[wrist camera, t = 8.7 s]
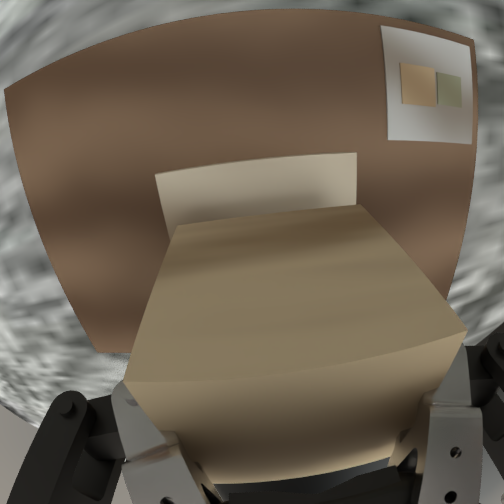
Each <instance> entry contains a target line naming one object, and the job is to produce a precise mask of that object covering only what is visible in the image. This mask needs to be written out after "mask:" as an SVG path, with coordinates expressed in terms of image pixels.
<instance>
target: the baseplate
mask: <svg viewBox="0 0 504 504" xmlns="http://www.w3.org/2000/svg"><path fill="white" fill-rule="evenodd" d="M4 94H5V102H6V109H7V116H8V122H9V127H10V133H11V138H12V142H13V147H14V152H15V156H16V160H17V164H18V168H19V172H20V176H21V179H22V183H23V186H24V190H25V193H26V196H27V200H28V203H29V206H30V209H31V212H32V215H33V218H34V220H35V223H36V226H37V229H38V232H39V234H40V237H41V239H42V242H43V245H44V247H45V249H46V252H47V254H48V257H49V259H50V261H51V264H52V266H53V268H54V271H55V273H56V275H57V277H58V279H59V282H60V284H61V286H62V288H63V290H64V292H65V294H66V296H67V298H68V300H69V302H70V304H71V306H72V308H73V310H74V312H75V314H76V316H77V317H78V319H79V321H80V323H81V325H82V327H83V328H84V330H85V332H86V334H87V335H88V337H89V339H90V341H91V342H92V344H93V346H94V347H95V349H96V351H97V352H100V353H131V352H132V349H133V346H134V342H135V339H136V336H137V333H138V330H139V327H140V324H141V321H142V318H143V315H144V312H145V309H146V306H147V303H148V301H149V298H150V295H151V292H152V289H153V287H154V284H155V281H156V278H157V276H158V273H159V270H160V268H161V265H162V262H163V260H164V257H165V255H166V252H167V250H168V247H169V244H170V242H171V239H172V237H173V234H174V232H175V230H176V227H177V226H178V225H185V224H192V223H199V222H206V221H214V220H222V219H229V218H237V217H245V216H253V215H262V214H270V213H279V212H288V211H297V210H306V209H316V208H326V207H336V206H347V205H358V204H361V205H362V206H363V207H364V208H365V209H366V210H367V211H368V212H369V213H370V215H371V216H372V217H373V218H374V219H375V220H376V221H377V222H378V223H379V224H380V225H381V226H382V227H383V228H384V229H385V230H386V231H387V232H388V233H389V235H390V236H391V237H392V238H393V239H394V240H395V241H396V242H397V243H398V244H399V245H400V247H401V248H402V249H403V250H404V251H405V252H406V253H407V254H408V256H409V257H410V258H411V259H412V260H413V261H414V263H415V264H416V265H417V266H418V267H419V268H420V270H421V271H422V272H423V273H424V274H425V275H426V277H427V278H428V279H429V280H430V282H431V283H432V284H433V285H434V286H435V288H436V289H437V290H438V291H439V293H440V294H441V295H442V296H443V298H444V299H445V300H446V299H447V296H448V293H449V290H450V287H451V283H452V280H453V276H454V273H455V269H456V266H457V262H458V258H459V254H460V250H461V246H462V241H463V237H464V232H465V228H466V223H467V217H468V212H469V206H470V200H471V194H472V187H473V179H474V170H475V161H476V149H477V132H478V83H477V66H476V55H475V45H474V40H473V39H470V38H467V37H464V36H462V35H459V34H455V33H452V32H449V31H446V30H442V29H439V28H435V27H432V26H428V25H424V24H420V23H415V22H411V21H406V20H402V19H396V18H391V17H385V16H379V15H373V14H365V13H357V12H348V11H337V10H321V9H267V10H251V11H239V12H230V13H221V14H214V15H207V16H201V17H195V18H190V19H184V20H179V21H175V22H170V23H166V24H161V25H157V26H153V27H149V28H146V29H142V30H139V31H135V32H132V33H128V34H125V35H122V36H119V37H116V38H113V39H110V40H107V41H104V42H101V43H99V44H96V45H93V46H91V47H88V48H86V49H83V50H81V51H78V52H76V53H74V54H71V55H69V56H67V57H64V58H62V59H60V60H58V61H56V62H54V63H52V64H49V65H47V66H45V67H43V68H41V69H39V70H38V71H36V72H34V73H32V74H30V75H28V76H26V77H25V78H23V79H21V80H19V81H17V82H16V83H14V84H12V85H11V86H9V87H7V88H6V89H4Z"/></svg>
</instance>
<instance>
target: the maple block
mask: <svg viewBox="0 0 504 504" xmlns="http://www.w3.org/2000/svg"><path fill="white" fill-rule="evenodd" d="M467 331H468V330H467V328H466V327H465V325H464V324H463V323H462V321H461V320H460V319H459V317H458V316H457V315H456V313H455V312H454V311H453V309H452V308H451V307H450V305H449V304H448V303H447V302H446V300H445V299H444V298H443V296H442V295H441V294H440V293H439V291H438V290H437V289H436V288H435V286H434V285H433V284H432V283H431V282H430V280H429V279H428V278H427V277H426V275H425V274H424V273H423V272H422V271H421V270H420V268H419V267H418V266H417V265H416V264H415V263H414V261H413V260H412V259H411V258H410V257H409V256H408V254H407V253H406V252H405V251H404V250H403V249H402V248H401V247H400V245H399V244H398V243H397V242H396V241H395V240H394V239H393V238H392V237H391V236H390V235H389V233H388V232H387V231H386V230H385V229H384V228H383V227H382V226H381V225H380V224H379V223H378V222H377V221H376V220H375V219H374V218H373V217H372V216H371V215H370V213H369V212H368V211H367V210H366V209H365V208H364V207H363V206H362V205H361V204H358V205H347V206H336V207H326V208H316V209H306V210H297V211H288V212H279V213H270V214H262V215H253V216H245V217H237V218H229V219H222V220H214V221H206V222H199V223H192V224H185V225H178V226H177V227H176V230H175V232H174V234H173V237H172V239H171V242H170V244H169V247H168V250H167V252H166V255H165V257H164V260H163V262H162V265H161V268H160V270H159V273H158V276H157V278H156V281H155V284H154V287H153V289H152V292H151V295H150V298H149V301H148V303H147V306H146V309H145V312H144V315H143V318H142V321H141V324H140V327H139V330H138V333H137V336H136V339H135V342H134V346H133V349H132V352H131V355H130V359H129V362H128V365H127V369H126V372H125V375H124V379H123V383H124V384H125V386H126V387H127V389H128V390H129V391H130V393H131V394H132V396H133V397H134V399H135V400H136V401H137V403H138V404H139V405H140V407H141V408H142V410H143V411H144V412H145V414H146V415H147V416H148V417H149V419H150V420H151V421H152V423H153V424H154V425H155V426H156V428H157V429H158V430H164V431H175V432H176V434H177V435H178V437H179V438H180V439H181V441H182V443H183V446H184V448H185V450H186V451H187V453H188V455H189V457H190V458H191V460H192V461H193V462H199V463H200V465H201V466H202V467H203V469H204V471H205V473H206V474H207V476H208V478H209V479H210V481H211V482H212V484H225V483H249V482H263V481H274V480H283V479H291V478H298V477H304V476H311V475H316V474H322V473H327V472H332V471H337V470H342V469H346V468H350V467H354V466H358V465H362V464H366V463H370V462H373V461H377V460H380V459H384V458H387V457H390V456H391V455H392V453H393V450H394V447H395V442H396V437H397V436H398V434H399V433H400V431H403V430H406V429H409V428H412V426H413V424H414V422H415V419H416V415H417V410H418V402H419V401H420V399H421V397H422V395H423V393H424V392H427V391H430V390H433V389H435V388H438V387H439V386H440V384H441V382H442V381H443V379H444V377H445V375H446V373H447V372H448V370H449V368H450V366H451V364H452V362H453V360H454V358H455V356H456V354H457V352H458V350H459V348H460V346H461V344H462V342H463V340H464V338H465V335H466V333H467Z"/></svg>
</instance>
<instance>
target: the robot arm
mask: <svg viewBox="0 0 504 504" xmlns="http://www.w3.org/2000/svg"><path fill="white" fill-rule="evenodd" d="M500 388H501V389H502V390H503V392H504V333H495V334H493V335H491V336H490V337H489V339H488V341H487V343H486V344H485V346H464V344H463V343H462V344H461V346H460V348H459V350H458V352H457V354H456V356H455V358H454V360H453V362H452V364H451V366H450V368H449V370H448V372H447V373H446V375H445V377H444V379H443V381H442V382H441V384H440V386H439V387H438V388H435V389H433V390H430V391H427V392H424V393H423V395H422V397H421V399H420V401H419V402H418V410H417V415H416V419H415V422H414V424H413V426H412V428H409V429H406V430H403V431H400V433H399V434H398V436H397V437H396V442H395V447H394V450H393V453H392V455H391V457H390V460H389V463H388V467H387V468H383V469H380V470H377V471H373V472H370V473H366V474H363V475H359V476H356V477H354V478H352V479H350V480H348V481H346V482H344V483H342V484H340V485H338V486H335V487H333V488H331V489H329V490H326V491H324V492H322V493H319V494H300V493H288V492H278V491H263V492H249V493H248V492H247V493H229V500H228V501H225V502H223V500H222V498H221V497H220V495H219V493H218V492H217V490H216V488H215V487H214V485H213V484H212V482H211V481H210V479H209V478H208V476H207V474H206V473H205V471H204V469H203V467H202V466H201V465H200V463H199V462H193V461H192V460H191V458H190V457H189V455H188V453H187V451H186V450H185V448H184V446H183V443H182V441H181V439H180V438H179V437H178V435H177V434H176V432H175V431H164V430H158V429H157V428H156V426H155V425H154V424H153V423H152V421H151V420H150V419H149V417H148V416H147V415H146V414H145V412H144V411H143V410H142V408H141V407H140V405H139V404H138V403H137V401H136V400H135V399H134V397H133V396H132V394H131V393H130V391H129V390H128V389H127V387H126V386H125V384H124V383H123V380H122V381H120V382H119V383H118V384H117V385H116V386H115V388H114V390H113V392H112V394H111V395H108V396H104V397H99V398H95V399H91V400H87V399H86V398H85V397H84V396H83V395H82V394H81V393H80V392H78V391H66V392H63V393H61V394H60V395H58V396H57V397H56V398H55V399H54V401H53V402H52V404H51V406H50V408H49V410H48V411H47V413H46V415H45V417H44V419H43V421H42V423H41V425H40V427H39V429H38V431H37V433H36V435H35V438H34V440H33V442H32V444H31V446H30V448H29V451H28V453H27V455H26V457H25V459H24V462H23V464H22V466H21V469H20V471H19V473H18V476H17V478H16V480H15V483H14V485H13V488H12V490H11V493H10V496H9V498H8V501H7V504H111V502H112V498H113V495H114V492H115V489H116V486H117V483H118V480H119V477H120V474H121V470H122V473H123V476H124V480H125V483H126V486H127V488H128V491H129V494H130V497H131V500H132V503H133V504H480V503H479V496H480V486H481V475H482V455H483V446H484V447H485V449H486V451H487V452H488V454H489V456H490V457H491V459H492V461H493V462H494V464H495V466H496V467H497V469H498V471H499V472H500V474H501V476H502V478H503V479H504V403H503V401H502V400H501V399H500V397H499V396H498V395H497V392H498V390H499V389H500ZM125 458H126V461H125ZM124 461H125V462H124ZM501 502H502V504H504V493H503V495H502V497H501Z"/></svg>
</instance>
